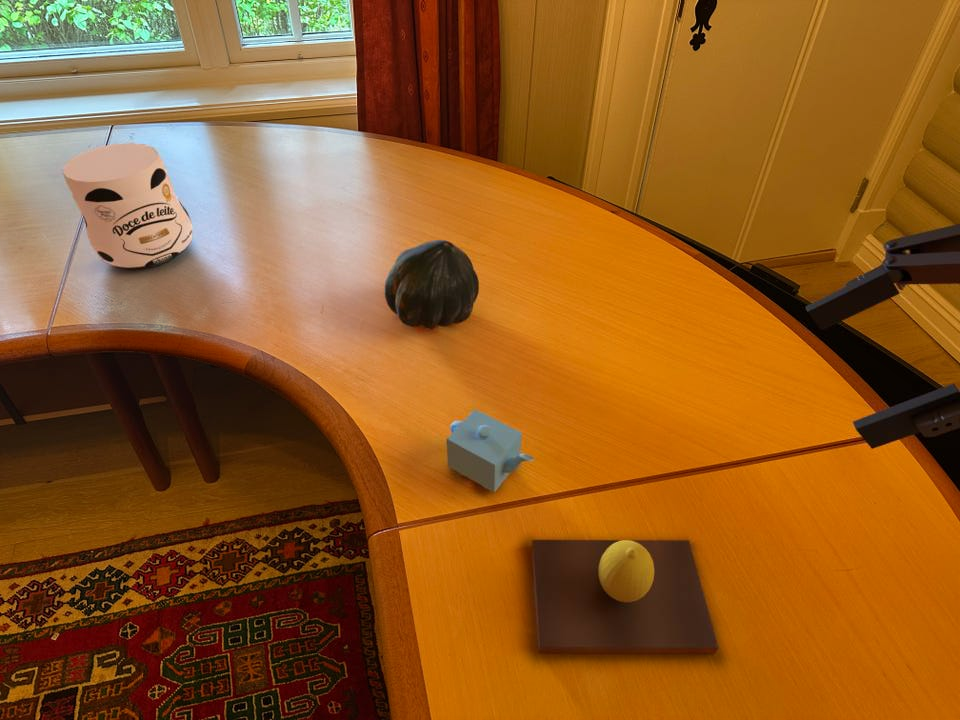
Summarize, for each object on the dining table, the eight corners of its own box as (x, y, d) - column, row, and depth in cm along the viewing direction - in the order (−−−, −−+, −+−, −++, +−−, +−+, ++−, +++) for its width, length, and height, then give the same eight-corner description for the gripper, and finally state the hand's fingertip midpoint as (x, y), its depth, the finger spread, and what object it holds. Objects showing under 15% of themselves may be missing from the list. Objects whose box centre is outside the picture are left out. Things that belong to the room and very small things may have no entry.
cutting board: (686, 546, 70) (689, 540, 69) (715, 653, 62) (719, 648, 61) (531, 546, 70) (532, 539, 69) (538, 653, 62) (539, 647, 61)
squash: (364, 272, 101) (387, 240, 88) (441, 248, 108) (473, 215, 94) (397, 350, 101) (424, 330, 87) (472, 321, 107) (509, 299, 94)
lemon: (616, 556, 68) (628, 517, 62) (656, 592, 65) (672, 554, 59) (583, 586, 65) (592, 548, 60) (623, 626, 62) (636, 589, 57)
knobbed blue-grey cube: (542, 476, 78) (546, 438, 72) (517, 510, 74) (520, 473, 69) (465, 435, 83) (464, 397, 77) (438, 465, 79) (436, 427, 74)
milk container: (167, 282, 108) (127, 189, 96) (80, 272, 111) (30, 180, 98) (214, 231, 121) (184, 144, 108) (136, 223, 123) (97, 136, 111)
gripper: (1382, 400, 30) (912, 527, 42) (1085, 172, 48) (816, 305, 60) (1368, 306, 27) (865, 472, 39) (1057, 100, 45) (778, 256, 57)
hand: (834, 371), depth 49 cm, fingers open, 13 cm apart
